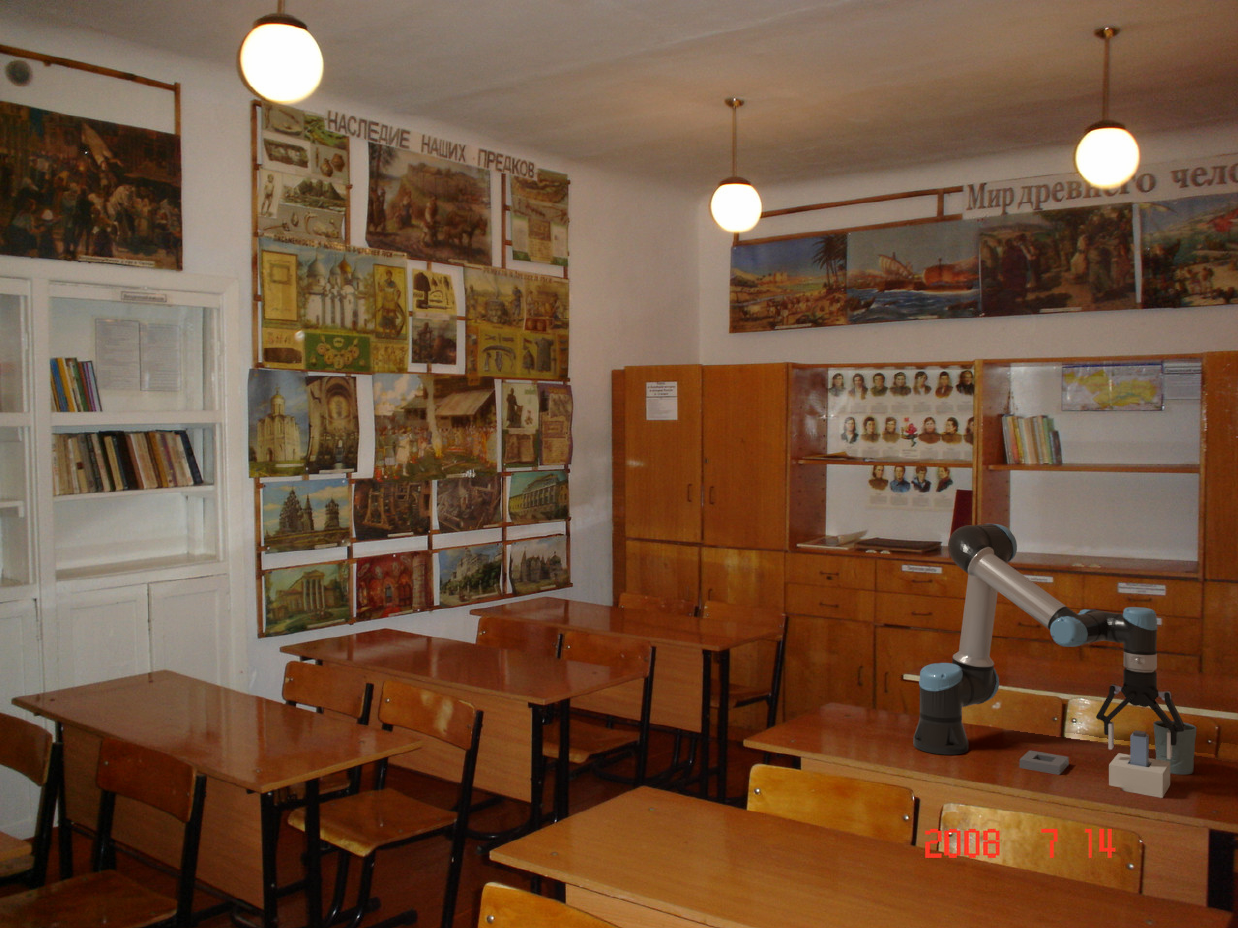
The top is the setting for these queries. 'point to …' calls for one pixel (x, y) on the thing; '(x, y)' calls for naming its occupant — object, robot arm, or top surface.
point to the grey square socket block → (1044, 762)
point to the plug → (1139, 748)
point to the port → (1140, 776)
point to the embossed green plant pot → (1176, 747)
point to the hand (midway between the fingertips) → (1139, 752)
